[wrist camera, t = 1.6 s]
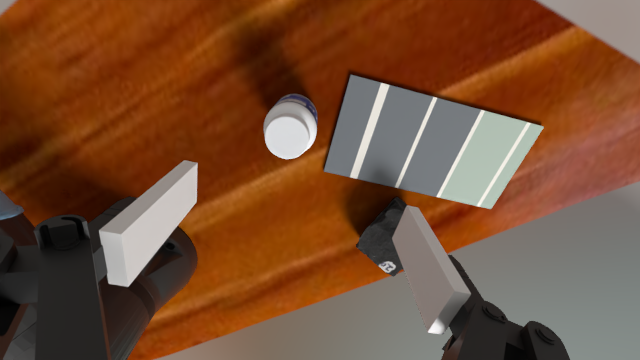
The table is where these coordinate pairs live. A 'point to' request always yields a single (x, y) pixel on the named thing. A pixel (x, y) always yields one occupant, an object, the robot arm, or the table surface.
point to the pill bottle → (290, 126)
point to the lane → (426, 143)
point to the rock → (383, 238)
